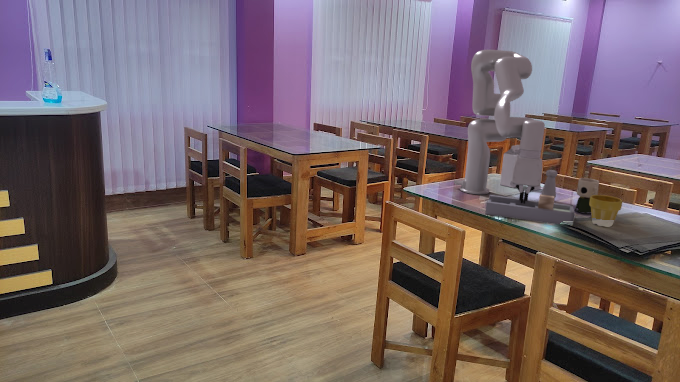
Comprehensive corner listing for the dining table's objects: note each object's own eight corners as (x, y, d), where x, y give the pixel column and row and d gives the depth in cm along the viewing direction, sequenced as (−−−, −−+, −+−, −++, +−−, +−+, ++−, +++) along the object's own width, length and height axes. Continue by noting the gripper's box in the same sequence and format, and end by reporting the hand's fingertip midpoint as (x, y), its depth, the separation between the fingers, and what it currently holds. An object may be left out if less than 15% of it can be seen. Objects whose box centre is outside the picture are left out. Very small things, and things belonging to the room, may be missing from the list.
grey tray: (485, 214, 188) (486, 202, 187) (488, 205, 199) (489, 194, 198) (572, 226, 177) (574, 214, 176) (570, 216, 189) (572, 205, 188)
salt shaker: (556, 203, 208) (561, 172, 205) (541, 201, 209) (546, 171, 206) (553, 199, 214) (557, 169, 210) (539, 198, 215) (543, 168, 212)
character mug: (566, 208, 201) (571, 176, 197) (582, 208, 202) (587, 176, 199) (584, 216, 190) (590, 183, 187) (601, 216, 192) (607, 183, 188)
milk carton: (499, 185, 236) (504, 145, 231) (507, 183, 241) (512, 143, 236) (513, 188, 231) (519, 147, 226) (521, 186, 236) (526, 146, 231)
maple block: (537, 210, 184) (539, 197, 183) (537, 207, 189) (539, 194, 188) (552, 212, 183) (554, 199, 181) (552, 209, 187) (554, 196, 186)
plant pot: (579, 220, 185) (583, 194, 182) (601, 219, 188) (606, 193, 186) (601, 229, 175) (606, 202, 173) (624, 228, 179) (629, 201, 176)
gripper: (507, 153, 183) (501, 202, 187) (551, 158, 178) (544, 208, 182) (508, 150, 190) (502, 197, 194) (551, 154, 184) (544, 203, 189)
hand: (522, 202), depth 188 cm, fingers closed
